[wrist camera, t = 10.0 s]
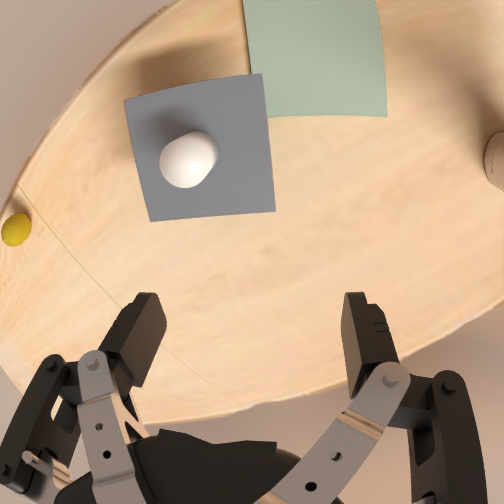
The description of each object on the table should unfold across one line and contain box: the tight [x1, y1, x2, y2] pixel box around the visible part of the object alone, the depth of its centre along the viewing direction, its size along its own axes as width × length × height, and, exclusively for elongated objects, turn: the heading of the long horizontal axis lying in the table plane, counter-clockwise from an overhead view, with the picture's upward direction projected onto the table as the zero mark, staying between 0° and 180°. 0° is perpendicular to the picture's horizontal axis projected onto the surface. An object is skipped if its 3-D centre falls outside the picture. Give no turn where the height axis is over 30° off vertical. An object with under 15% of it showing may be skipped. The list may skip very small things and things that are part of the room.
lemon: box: [1, 213, 31, 247], centre depth 38 cm, size 6×6×8 cm
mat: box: [243, 0, 387, 118], centre depth 26 cm, size 16×16×1 cm
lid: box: [124, 73, 276, 222], centre depth 23 cm, size 13×13×5 cm
